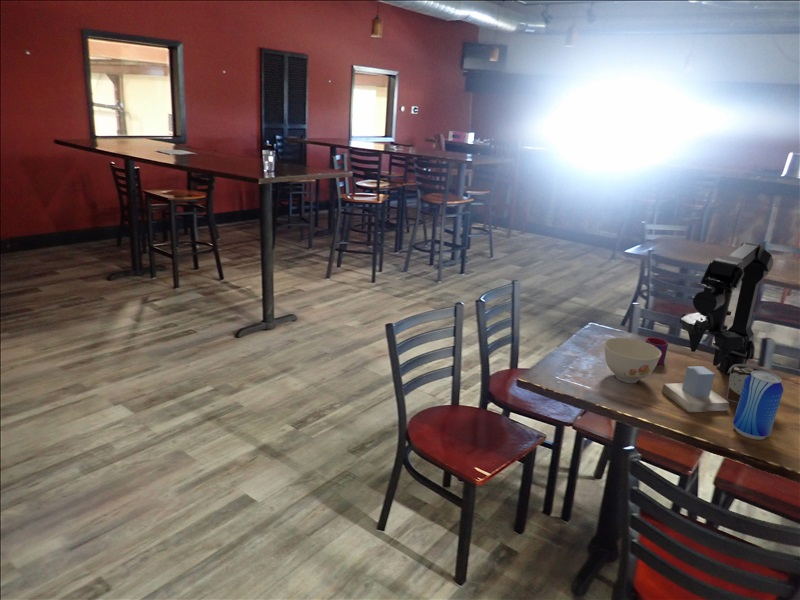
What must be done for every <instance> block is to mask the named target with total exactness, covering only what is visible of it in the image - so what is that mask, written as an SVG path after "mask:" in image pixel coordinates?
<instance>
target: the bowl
mask: <svg viewBox="0 0 800 600" xmlns="http://www.w3.org/2000/svg"><path fill="white" fill-rule="evenodd" d="M603 345H604V358H605V359H604V360H605V362H606V363H605V364H606V365H607V367H608V368H609V370H610V371H611V372H612V373H613V374H615V378H616V379H617V380H619V381H621V382H624V383H628V384H635V383H637V382H639V380H641V379H645V378H646V377H648V376H649V375H650V374H652V373H653V371H654V370H655V368H656V367H657V366H658V365H657V363H658V361H659V359H660V357H661V351H660V350H659V349H658V348H657V347H655V346H653V345H651V344H649V343H646V341H643V340H639V339H635V338H628V337H612V338H609V339H606V340H605V341H604V344H603Z"/></svg>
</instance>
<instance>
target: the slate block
mask: <svg viewBox="0 0 800 600" xmlns="http://www.w3.org/2000/svg"><path fill="white" fill-rule="evenodd" d="M715 375H716V374H715V373H714V372H713V371H711V370H710V369H708V368H706V366H703V365H701V366H700V365H697V366H696V365H695V366H687V367H686V371H685V375H684V379H683V382H682V383H683V387H682V389H683V390H684V391H685V392H687V393H688V394H689V395H691V396H692V397H709V396H710V392H711V390H712V387H713V383H714V380H715Z"/></svg>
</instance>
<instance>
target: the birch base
mask: <svg viewBox="0 0 800 600" xmlns="http://www.w3.org/2000/svg"><path fill="white" fill-rule="evenodd" d="M682 387H683V382H678V383H663V385H662V390H661V392H662V393H663V394H664V395H666V396H667V397H668V398H670V399H671V400H672V401H674V402H675V403H676V404H677V405H678V406H679V407H681V408H682V409H684V410H685V411H686V412H687V413H700V412H701V413H703V412H723V411H728V408H729V405H730V401H729V400H727V399H725V398H724V397H722V396H720V395H719V394H718V393H716V392H714V391H713V390H712V389H711V392H710V396H709V397H692V396H691V395H689V394H688V393H687V392H685V391H684V390H683V389H682Z"/></svg>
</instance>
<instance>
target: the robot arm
mask: <svg viewBox="0 0 800 600" xmlns="http://www.w3.org/2000/svg"><path fill="white" fill-rule="evenodd" d="M773 265H774V259H773V255H772V254H771V253H770V252H769V251H768V250H766V249H765V248H764V245H762V244H760V243H756V242H751V241H743V242H742V243H741V245H740V246H739V247H738V248H736V249H735V250H734V251H732V252H731V253H730V254H729V255H727V256H724V255H723V256H718V257H715V258H713V260H711V261H710V262H709V264H708V266H707V268H706V270H705V272H704V274H703V276H702V279H701V281H700V285H705V286H704V288H703V290H702V291H699V292H697V293H696V294H695V295H694V297H693V298H692V304H693V307H694V309H695V310H696V311H697V312H693V313H688V312H686V313H683V314H682V315H681V316H680V319H679V323H680V324H681V329H682V330H683V331H686V332H687V333H688V339H689V346H690V352H692V353H695V352H697V350H698V347H699V345H700V343H701V341H702V338H703V336H704V334H705V332H707V333H709V334H711V335H712V336H714V338H713V340H714V342H712V345H713V347H714V348H715V350H714V356H713V361H712V365H713V367H716V369H718V370H720V371H721V372H722V373H723V374H726V375H727V376H729V377H730V372H728V371H729V369H730V368H731V366H733V365H735V364H747V361H749V360H753V359H754V357H755V352H756V347H755V341H754V336H755V333H754V332H753V329H752V327H751V321H752V317H753V314H754V309H755V305H756V300H757V296H758V292H759V287H760V283H761V282H762V281H763V279H764V278H766V277H767V276H768V275H769V272H770V271H771V270H772V268H773ZM740 283H741V284H740ZM739 285H740V289H739V293H738V297H737V302H736V306H735V312H734V317H733V321H732V325H731V326H730V327H729V326H728V325H727V324H726V320H727V316H731V314H732V311H730V310H729V307H730V304H731V299H732V295H733V291H734V290H735V289H737V288H738V286H739ZM728 327H729V328H728ZM724 330H725V331H724Z"/></svg>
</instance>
